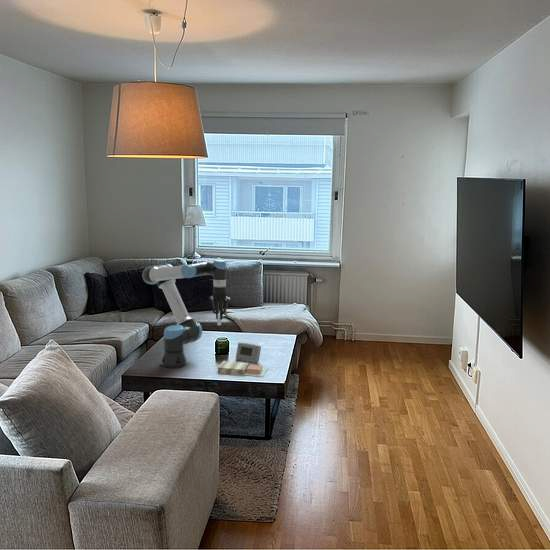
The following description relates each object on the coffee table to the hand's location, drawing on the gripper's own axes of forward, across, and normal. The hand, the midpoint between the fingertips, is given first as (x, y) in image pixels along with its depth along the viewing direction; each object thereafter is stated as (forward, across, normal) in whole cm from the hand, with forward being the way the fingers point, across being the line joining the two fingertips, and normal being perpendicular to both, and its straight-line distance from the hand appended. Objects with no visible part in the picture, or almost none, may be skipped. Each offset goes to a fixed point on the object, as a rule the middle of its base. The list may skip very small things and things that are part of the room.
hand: (219, 324), depth 325 cm
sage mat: (+26, +24, -3) cm, 36 cm away
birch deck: (+26, +10, -3) cm, 28 cm away
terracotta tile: (+26, +23, -3) cm, 35 cm away
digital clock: (+27, +14, +16) cm, 34 cm away
